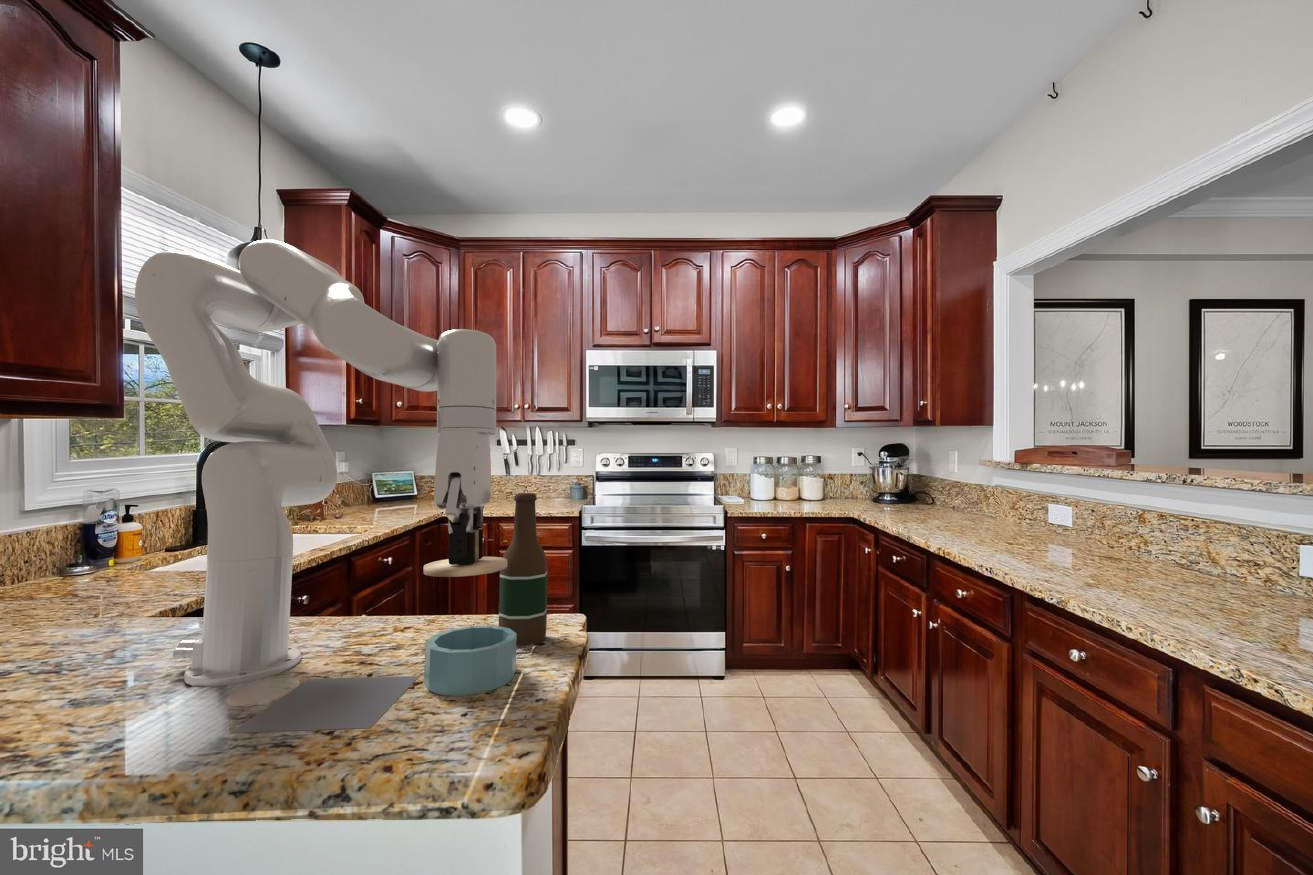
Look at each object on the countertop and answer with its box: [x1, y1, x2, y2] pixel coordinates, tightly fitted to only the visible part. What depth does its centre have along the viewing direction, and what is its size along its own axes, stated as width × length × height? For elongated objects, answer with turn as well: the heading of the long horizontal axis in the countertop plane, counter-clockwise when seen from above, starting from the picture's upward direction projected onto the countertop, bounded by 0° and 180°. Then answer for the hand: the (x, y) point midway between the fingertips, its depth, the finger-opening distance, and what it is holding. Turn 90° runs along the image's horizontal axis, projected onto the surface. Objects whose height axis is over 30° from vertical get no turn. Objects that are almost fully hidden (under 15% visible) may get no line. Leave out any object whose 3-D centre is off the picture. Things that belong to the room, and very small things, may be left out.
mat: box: [229, 675, 420, 734], centre depth 61 cm, size 14×14×1 cm
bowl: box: [423, 625, 517, 697], centre depth 69 cm, size 11×11×6 cm
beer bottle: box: [498, 492, 549, 647], centre depth 86 cm, size 8×8×24 cm
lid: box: [422, 530, 507, 578], centre depth 69 cm, size 10×10×5 cm
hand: (466, 560), depth 69 cm, fingers closed on lid, 3 cm apart
